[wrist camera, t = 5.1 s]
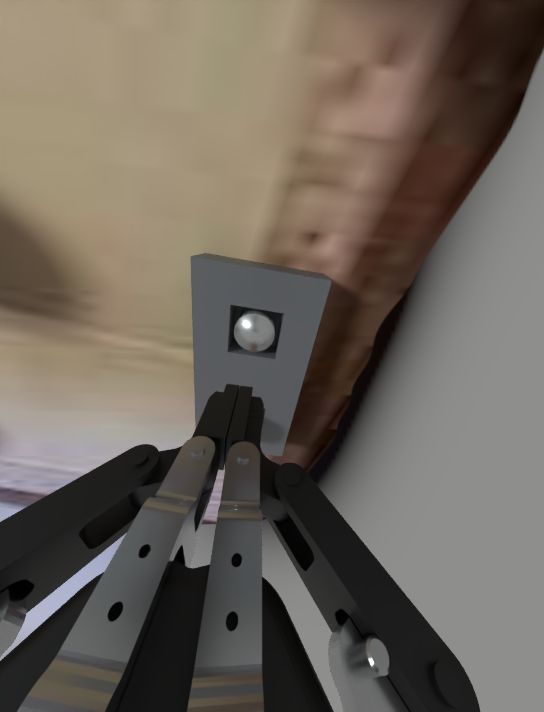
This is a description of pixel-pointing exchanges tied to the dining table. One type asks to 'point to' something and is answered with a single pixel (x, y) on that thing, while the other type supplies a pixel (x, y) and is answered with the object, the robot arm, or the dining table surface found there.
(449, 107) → the dining table surface
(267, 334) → the steel button
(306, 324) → the button panel
